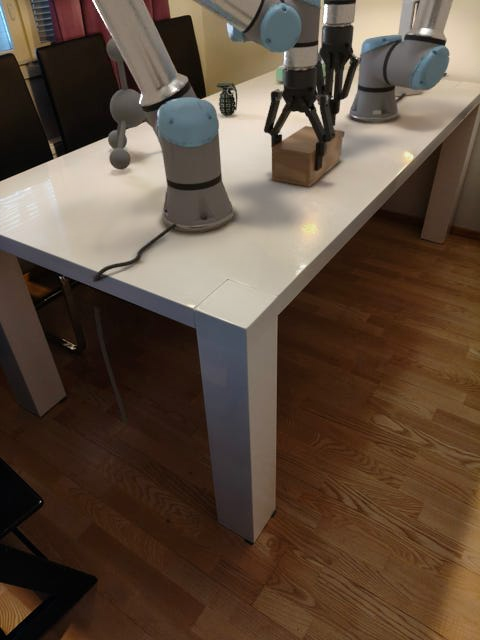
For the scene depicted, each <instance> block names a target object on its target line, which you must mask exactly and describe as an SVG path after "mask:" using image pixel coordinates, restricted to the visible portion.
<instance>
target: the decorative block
mask: <svg viewBox="0 0 480 640" xmlns="http://www.w3.org/2000/svg"><path fill="white" fill-rule="evenodd" d="M321 59H322V58H321ZM321 63H322V69H323V76H324V78H325V76H326V72H325V63H324V61H323V59H322V61H321ZM284 68H285V66H284V65H283V61H282V62H281V65H278V67H276V69H275V78H276V79H275V81H276V82H283V70H284Z"/></svg>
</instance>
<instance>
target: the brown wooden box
mask: <svg viewBox="0 0 480 640" xmlns="http://www.w3.org/2000/svg"><path fill="white" fill-rule="evenodd" d="M334 131H335V138H334V139H333V140H331V141H330V142H327V150H326V155H325V156H323V160H322V168H321V169H319V170H318V171H315V151H316V143H317V142H319V140H318V138H317V136H316V134H315V132H314V130H313V127H312V126H308V125H304V126H303V127H301V128H300V129H298V130H297V131H295V132H294V133H292V134H290V135H289V136H287V137H286V138H284V139H282V141H281V142H279V143H278V144H276V145H275V146H273V147H271V180H272V181H276V182H282V183H286V184H287V183H288V184H293V185H297V186H302V187H308V188H309V187H311V186H312V185H313V184H315V183H316V182H317V181H318V180H319V179H321V178H322V177H323V176H324V175H325V174H327V173H328V172H329V171H330V170H331V169H332V168H334V167H335V166H336V165H337V164H339V163H340V159H341V156H340V149H341V136H342V131H343V130H340V129H334ZM341 150H342V149H341Z"/></svg>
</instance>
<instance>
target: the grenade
mask: <svg viewBox="0 0 480 640" xmlns="http://www.w3.org/2000/svg"><path fill="white" fill-rule="evenodd" d="M215 87H217V88H219V89H221V93H219V97H218V101H219V102H218V106H219V108H218V109H219V112H220V114H221V115H222V116H224V117H231V116H233V115H234V113H235V112H236V111H237V108H238V89H237V87H236V85H235V84H234V83H233V82H218V83H217V84H216V86H215ZM232 91H233V92H232ZM234 94H235V96H234Z"/></svg>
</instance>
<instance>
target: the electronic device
mask: <svg viewBox="0 0 480 640" xmlns="http://www.w3.org/2000/svg"><path fill="white" fill-rule="evenodd" d="M419 3H420V0H402V3H401V11H400V18H399V26H398V34H397V35H401V36H402V42H403V40H404V37H405V34H406V33H407V32H408V31H409V30H411V29H412V27H413V24H414V18H415V17H416V13H417V10H418V6H419ZM422 92H423V90H413V89H410V88H405V87H399V86H395V97H396V98H397V97H400V96H401V95H403V94H404V93H405V94H406V95H405V96H412V95H418V94H421V93H422Z"/></svg>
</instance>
